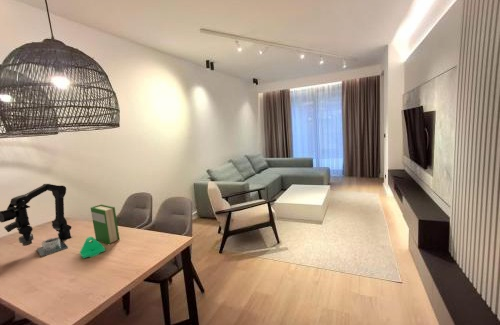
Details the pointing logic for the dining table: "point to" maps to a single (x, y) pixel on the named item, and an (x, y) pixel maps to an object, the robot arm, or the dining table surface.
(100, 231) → the hardback book
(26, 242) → the dark grey rounded lump
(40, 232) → the dining table surface
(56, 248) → the square base plate
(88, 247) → the camera mount
